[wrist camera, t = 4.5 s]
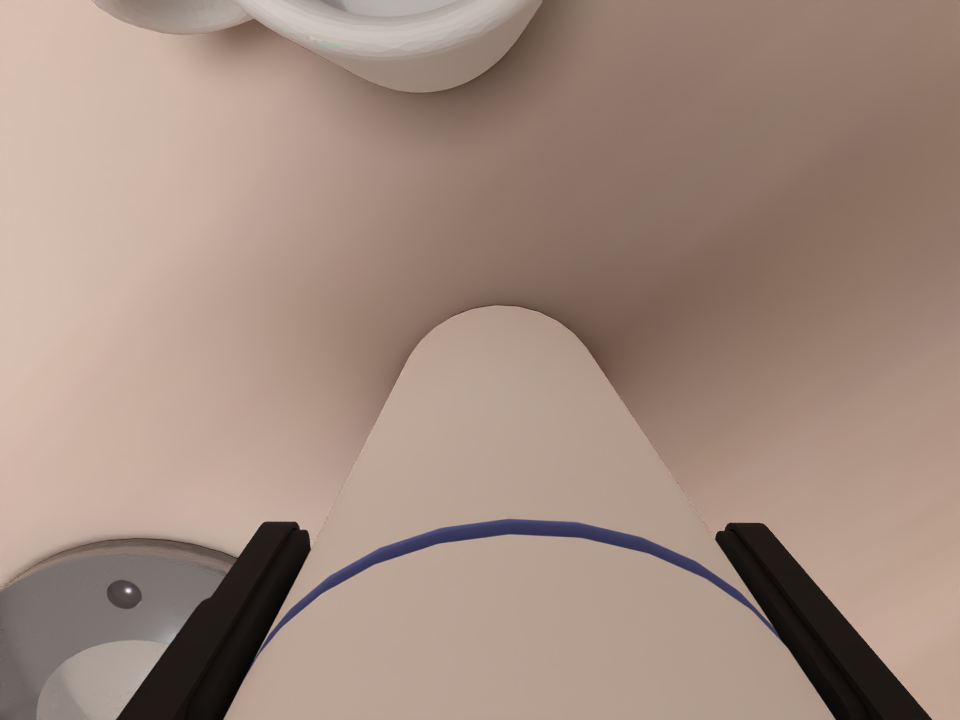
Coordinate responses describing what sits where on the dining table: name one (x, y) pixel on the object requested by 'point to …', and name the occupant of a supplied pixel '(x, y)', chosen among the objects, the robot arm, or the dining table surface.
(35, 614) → the flange plate
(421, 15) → the cup
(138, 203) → the dining table surface
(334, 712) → the cylindrical container
